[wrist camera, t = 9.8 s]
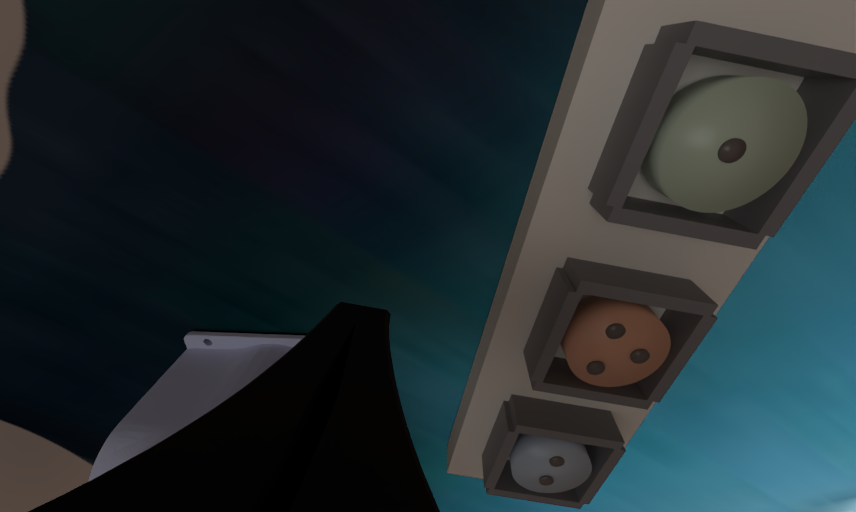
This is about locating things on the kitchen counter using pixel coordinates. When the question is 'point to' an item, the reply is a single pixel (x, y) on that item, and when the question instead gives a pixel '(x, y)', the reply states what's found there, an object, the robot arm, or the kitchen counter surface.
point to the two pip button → (549, 464)
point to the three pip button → (614, 342)
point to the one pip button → (725, 141)
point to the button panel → (636, 218)
